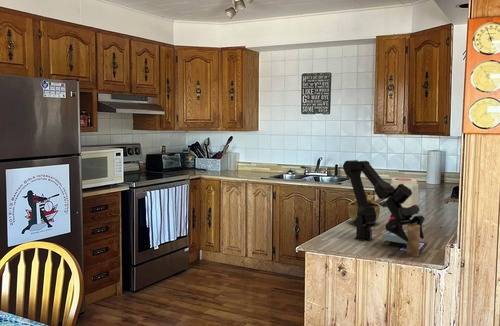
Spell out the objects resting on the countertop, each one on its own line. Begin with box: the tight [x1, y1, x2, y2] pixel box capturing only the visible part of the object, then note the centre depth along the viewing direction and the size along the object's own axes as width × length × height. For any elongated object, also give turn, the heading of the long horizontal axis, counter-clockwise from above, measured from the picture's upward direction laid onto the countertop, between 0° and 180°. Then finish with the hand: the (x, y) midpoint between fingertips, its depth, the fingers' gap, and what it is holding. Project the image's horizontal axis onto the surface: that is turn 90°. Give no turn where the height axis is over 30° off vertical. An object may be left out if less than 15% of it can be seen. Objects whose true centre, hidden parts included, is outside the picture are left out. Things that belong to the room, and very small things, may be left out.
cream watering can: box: [374, 177, 420, 208], centre depth 316 cm, size 19×30×18 cm, turn 56°
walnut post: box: [405, 224, 421, 258], centre depth 205 cm, size 5×5×13 cm
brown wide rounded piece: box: [347, 194, 381, 222], centre depth 264 cm, size 22×17×15 cm
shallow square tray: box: [381, 230, 421, 248], centre depth 222 cm, size 14×12×5 cm
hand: (415, 239), depth 204 cm, fingers open, 9 cm apart
